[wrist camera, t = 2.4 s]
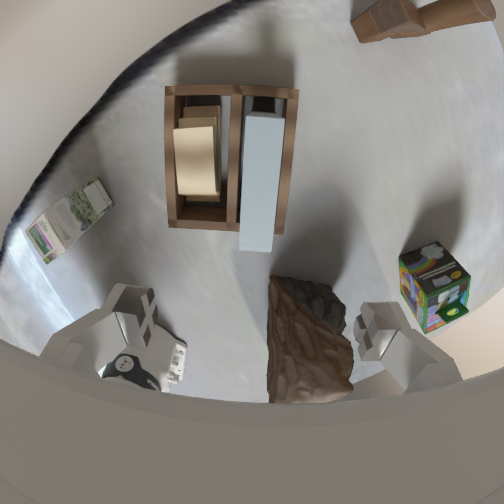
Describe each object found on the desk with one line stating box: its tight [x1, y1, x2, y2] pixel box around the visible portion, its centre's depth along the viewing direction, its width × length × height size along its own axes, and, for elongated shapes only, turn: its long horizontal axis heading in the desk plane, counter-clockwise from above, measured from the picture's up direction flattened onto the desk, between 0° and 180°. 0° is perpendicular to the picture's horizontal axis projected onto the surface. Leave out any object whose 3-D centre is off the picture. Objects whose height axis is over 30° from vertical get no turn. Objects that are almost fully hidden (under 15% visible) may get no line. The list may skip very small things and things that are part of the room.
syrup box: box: [25, 177, 114, 264], centre depth 32 cm, size 6×6×14 cm
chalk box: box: [399, 242, 471, 334], centre depth 37 cm, size 9×9×15 cm
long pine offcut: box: [183, 105, 222, 202], centre depth 34 cm, size 13×5×2 cm, turn 178°
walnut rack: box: [164, 84, 299, 235], centre depth 33 cm, size 18×15×5 cm
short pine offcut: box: [173, 125, 218, 194], centre depth 31 cm, size 8×5×2 cm, turn 0°
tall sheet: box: [239, 111, 285, 252], centre depth 29 cm, size 12×3×15 cm, turn 176°
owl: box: [267, 276, 354, 404], centre depth 40 cm, size 13×13×20 cm
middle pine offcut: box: [178, 116, 219, 195], centre depth 32 cm, size 10×5×2 cm, turn 179°
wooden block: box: [351, 0, 496, 43], centre depth 16 cm, size 4×11×18 cm, turn 113°
